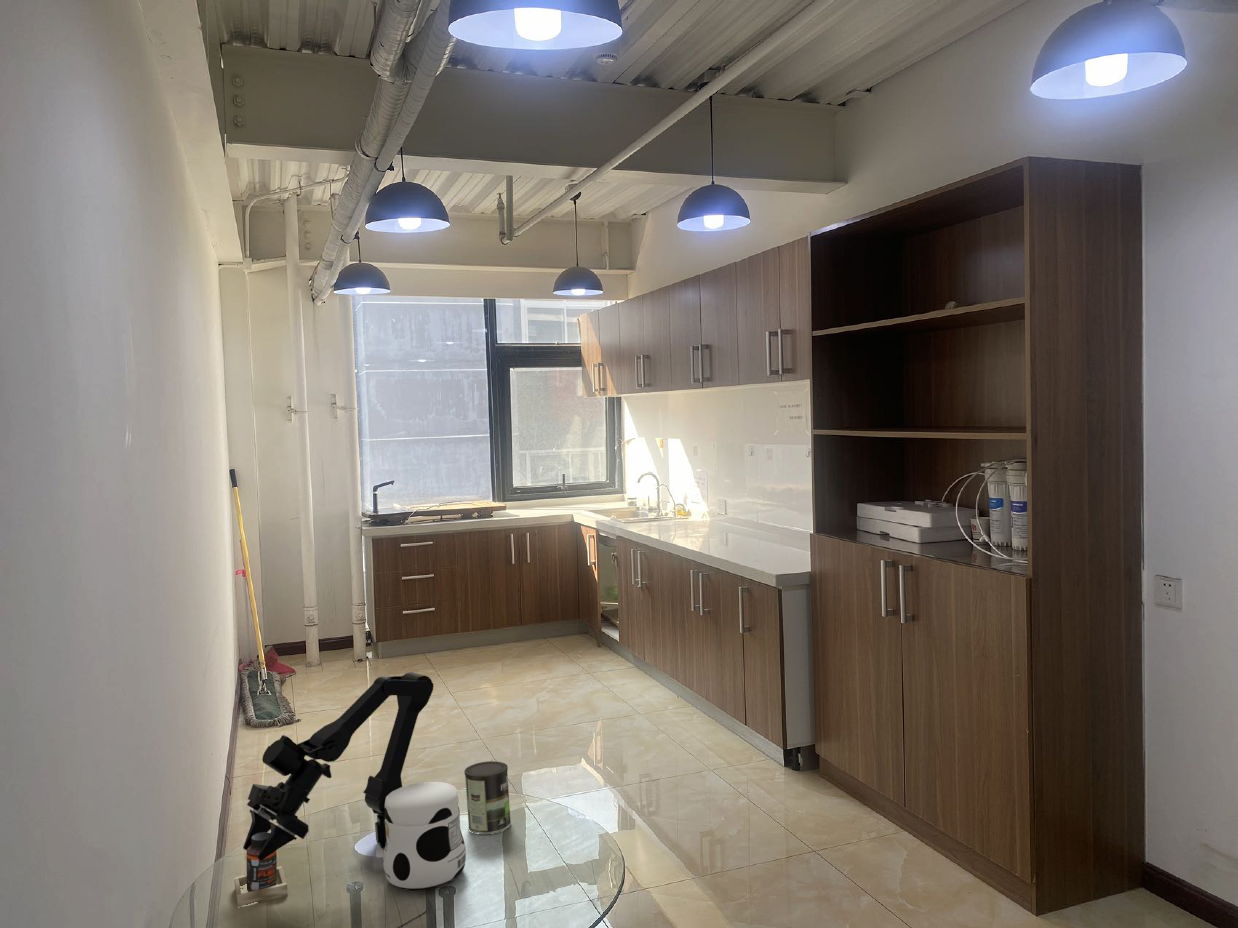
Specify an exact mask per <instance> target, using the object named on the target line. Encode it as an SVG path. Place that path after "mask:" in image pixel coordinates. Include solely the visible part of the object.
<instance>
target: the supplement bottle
mask: <svg viewBox="0 0 1238 928" xmlns="http://www.w3.org/2000/svg"><path fill="white" fill-rule="evenodd" d="M270 833H271V832H262V833H257V834H255V835H253V836H252V838H251V839H252V840H251V841H252V842H251V843H252V844H251V845H250V846H249V847H248V849H247V850H246V858H245V859H246V875H247V891H248V892H251V891H255V890H259V889H263V888H267V887H271V886H275V885H276V882H277V867H278V866H277V861H278V860H277V855H278V854H277V850H276V851H275V852H273V853H272V854H270V855H269V856H267V857H266V858H264V859H263V860H259V859H258V858H257V857H258V855H259V853H260V851H261V849H262V847H263V845H264V844H265V842H266V840H267V838H268V837H269V835H270Z"/></svg>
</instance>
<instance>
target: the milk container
mask: <svg viewBox="0 0 1238 928" xmlns="http://www.w3.org/2000/svg"><path fill="white" fill-rule="evenodd" d="M384 813H385V828H386V845H385V848H384V851H383V855H382V856H383V857H382V862H383V863H382V864H383V871H384V875H385V878H386V879H387V881H388V882H389V883H390V885H391V886H394V887H396V888H398V889H400V890H404V891H405V890H406V891H412V892H414V891H415V892H416V891H426V890H427V891H428V890H432V889H436V888H439V887H442V886H444V885H447V884H449V883H451V882H452V881H454V880H455V879H457V877H458V878H459V876H460V875H461V874H462V872H463V870H464V869H465V866H466V859H467V846H466V842H465V839H464V836H463V834H462V830H461V815H460V807H459V795H458V790H457V788H456V786H454V785H453V784H450V783H447V782H443V781H425V782H424V781H422V782H416V783H409V784H408V785H407V784H406V785H405V786H402V787H401V788H398V789H396V790H394V791H392V792H391V793H390V794H389V795H388V796H386V800H385V810H384Z"/></svg>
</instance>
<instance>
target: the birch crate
mask: <svg viewBox="0 0 1238 928" xmlns="http://www.w3.org/2000/svg"><path fill="white" fill-rule="evenodd" d="M284 872H285V871H284V870H283V866H281V865H280V866H277V882H276V885H275V886H271V887H267V888H263V889H259V890H255V891H251V892H247V891H245V892H247V893H243V892H244V891H243V890H240V889H241V888H240V886H243V885H245V884H247V874H244V875H239V876H236V877H234V878H233V879H234V892H235V891H236V892H235V898H236V897H237V898H236V903H237V904H238V905H237V908H238V907H241V906H243V905H248V904H251V903H254V902H258V903H259V904H261V902H262V903H265V902H269V901H275V900H278V899H282V898H284V897H288V896H289V894H288V884H287V880H286V876H285V873H284ZM242 889H243V888H242ZM241 892H242V893H241Z"/></svg>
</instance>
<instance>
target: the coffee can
mask: <svg viewBox="0 0 1238 928" xmlns="http://www.w3.org/2000/svg"><path fill="white" fill-rule="evenodd" d="M508 769H509V768H508V765H507V764H506V763H504V762H501V761H490V760H489V761H482V762H477V763H473V764H472V765H469V766H467V767H466V768H465V769H464V776H465V777H464V779H465V791H466V793H465V795H466V806H467V807H466V809H467V822H468V825H467V826H468V828H469V829H468V828H467V829H468V831H469V830H470V831H471V832H473V833H479V834H482V835H481V836H484V835H483V834H491V835H493V834H492V833H497V834H500V833H502V832H501V831H503V830H505V831H506V830H508V829H509V828H510V827H511V826H512V821H511V810H510V806H511V805H510V793H509V780H508V778H509V777H508ZM507 828H508V829H507ZM470 831H469V832H470ZM471 832H470V833H471ZM499 832H500V833H499ZM503 832H504V831H503ZM473 833H472V834H473Z"/></svg>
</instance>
